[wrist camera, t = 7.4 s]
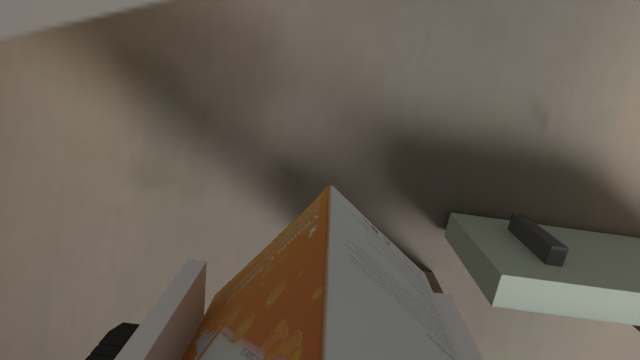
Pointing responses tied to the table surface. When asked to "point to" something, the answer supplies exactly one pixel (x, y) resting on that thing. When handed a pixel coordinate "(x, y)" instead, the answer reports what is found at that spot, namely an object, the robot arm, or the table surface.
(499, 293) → the sliding door
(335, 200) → the small box
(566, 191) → the table surface
